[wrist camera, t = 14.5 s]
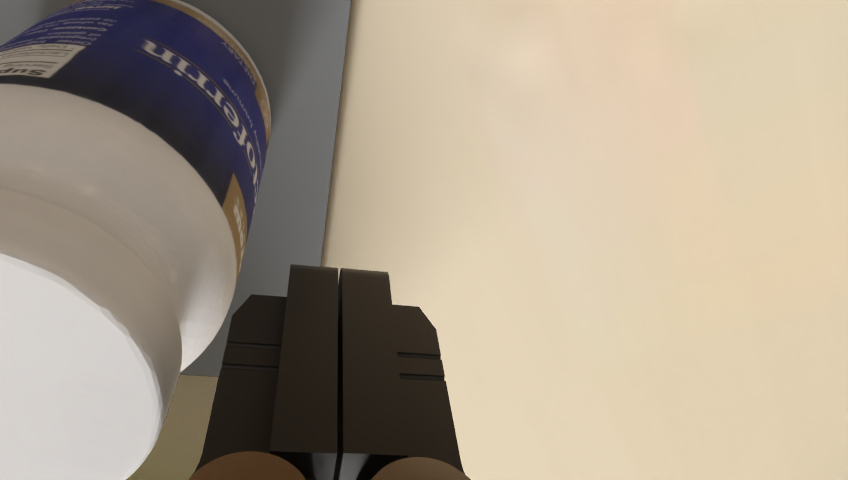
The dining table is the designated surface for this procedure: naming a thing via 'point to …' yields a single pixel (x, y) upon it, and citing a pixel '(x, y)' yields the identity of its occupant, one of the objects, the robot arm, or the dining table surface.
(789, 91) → the dining table surface
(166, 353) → the pill bottle
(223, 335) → the mat
